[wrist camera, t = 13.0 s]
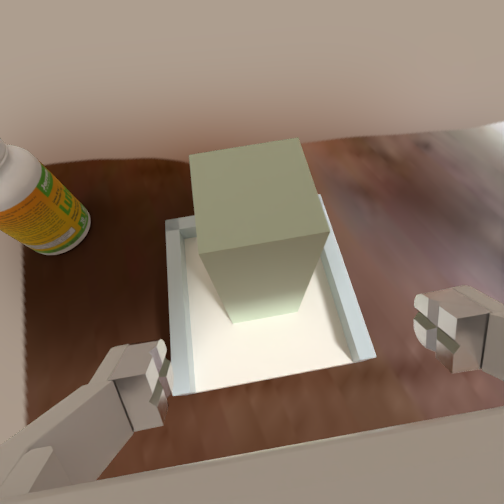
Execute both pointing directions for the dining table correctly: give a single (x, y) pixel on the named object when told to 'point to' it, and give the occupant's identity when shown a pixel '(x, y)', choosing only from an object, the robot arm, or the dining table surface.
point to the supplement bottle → (38, 204)
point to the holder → (256, 323)
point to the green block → (258, 226)
